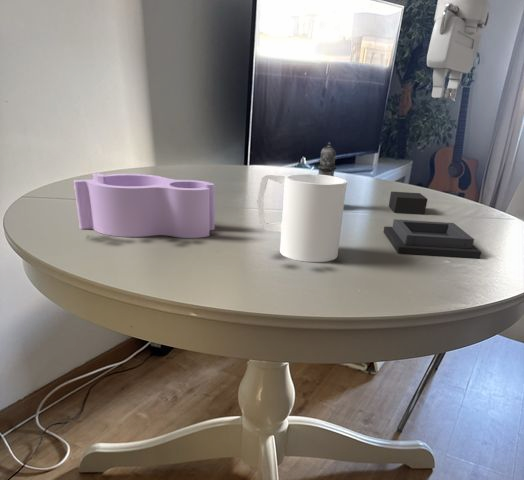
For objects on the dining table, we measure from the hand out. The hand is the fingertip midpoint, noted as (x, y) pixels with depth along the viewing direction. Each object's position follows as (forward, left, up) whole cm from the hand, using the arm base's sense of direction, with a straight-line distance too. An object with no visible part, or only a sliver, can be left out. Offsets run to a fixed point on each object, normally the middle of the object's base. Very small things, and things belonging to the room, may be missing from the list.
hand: (443, 98), depth 92 cm
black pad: (+4, +5, -20) cm, 21 cm away
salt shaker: (+21, +6, -21) cm, 30 cm away
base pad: (+6, +30, -20) cm, 37 cm away
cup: (+27, +38, -21) cm, 51 cm away
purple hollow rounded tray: (+50, +30, -21) cm, 62 cm away
